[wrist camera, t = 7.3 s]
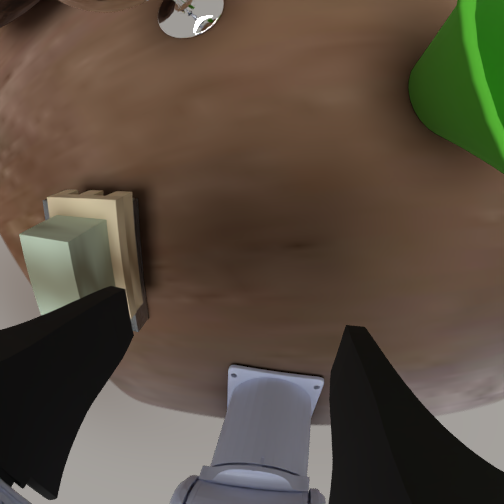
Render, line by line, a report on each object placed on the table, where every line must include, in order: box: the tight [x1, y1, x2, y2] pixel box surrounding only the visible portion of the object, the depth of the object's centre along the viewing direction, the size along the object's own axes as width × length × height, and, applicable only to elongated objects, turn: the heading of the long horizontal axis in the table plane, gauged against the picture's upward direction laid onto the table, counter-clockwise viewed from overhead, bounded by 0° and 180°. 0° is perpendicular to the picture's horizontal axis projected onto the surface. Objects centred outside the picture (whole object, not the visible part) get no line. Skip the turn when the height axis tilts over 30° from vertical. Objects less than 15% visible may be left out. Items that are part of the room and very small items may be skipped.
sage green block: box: [19, 190, 143, 319], centre depth 16 cm, size 8×6×6 cm
